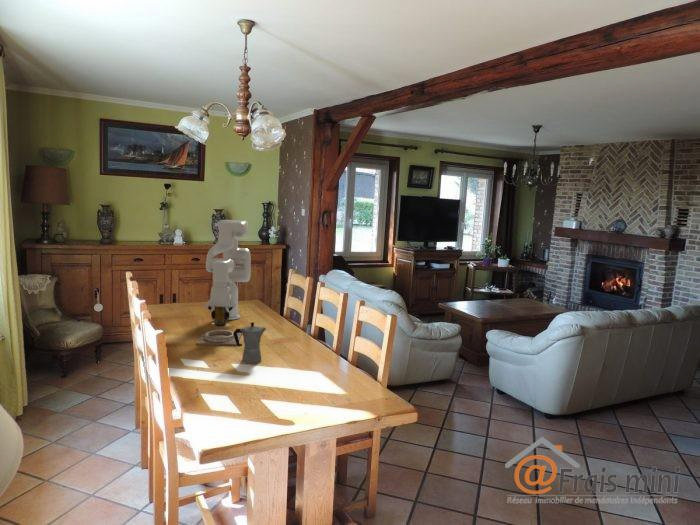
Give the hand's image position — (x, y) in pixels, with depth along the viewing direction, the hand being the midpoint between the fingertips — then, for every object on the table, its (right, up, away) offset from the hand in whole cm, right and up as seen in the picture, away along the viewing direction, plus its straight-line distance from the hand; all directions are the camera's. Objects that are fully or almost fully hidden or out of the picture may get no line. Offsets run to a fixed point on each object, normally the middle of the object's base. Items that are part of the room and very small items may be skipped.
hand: (220, 318), depth 253 cm
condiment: (0, -3, 0) cm, 3 cm away
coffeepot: (+21, -16, -27) cm, 38 cm away
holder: (-1, -11, +2) cm, 11 cm away
